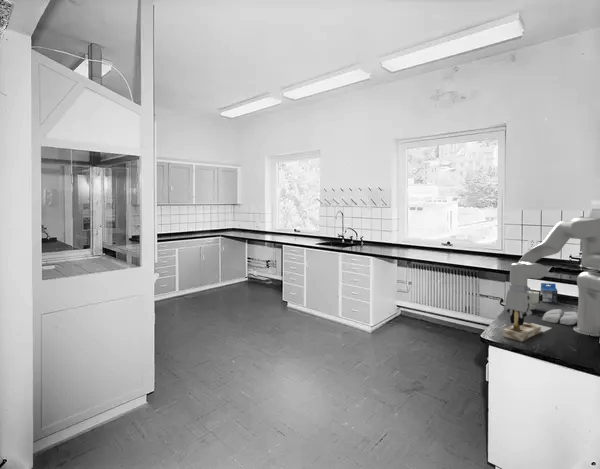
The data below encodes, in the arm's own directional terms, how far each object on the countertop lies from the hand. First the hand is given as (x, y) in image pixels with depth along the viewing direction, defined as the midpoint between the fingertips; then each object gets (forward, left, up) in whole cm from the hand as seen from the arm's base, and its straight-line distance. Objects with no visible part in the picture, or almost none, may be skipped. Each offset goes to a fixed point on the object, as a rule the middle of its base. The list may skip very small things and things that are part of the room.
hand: (516, 323), depth 179 cm
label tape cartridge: (+20, -86, -7) cm, 88 cm away
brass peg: (0, 0, -3) cm, 3 cm away
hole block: (0, -6, -7) cm, 9 cm away
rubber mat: (0, -23, -7) cm, 23 cm away
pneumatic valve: (+19, -59, -7) cm, 62 cm away
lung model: (-1, -51, -7) cm, 51 cm away
